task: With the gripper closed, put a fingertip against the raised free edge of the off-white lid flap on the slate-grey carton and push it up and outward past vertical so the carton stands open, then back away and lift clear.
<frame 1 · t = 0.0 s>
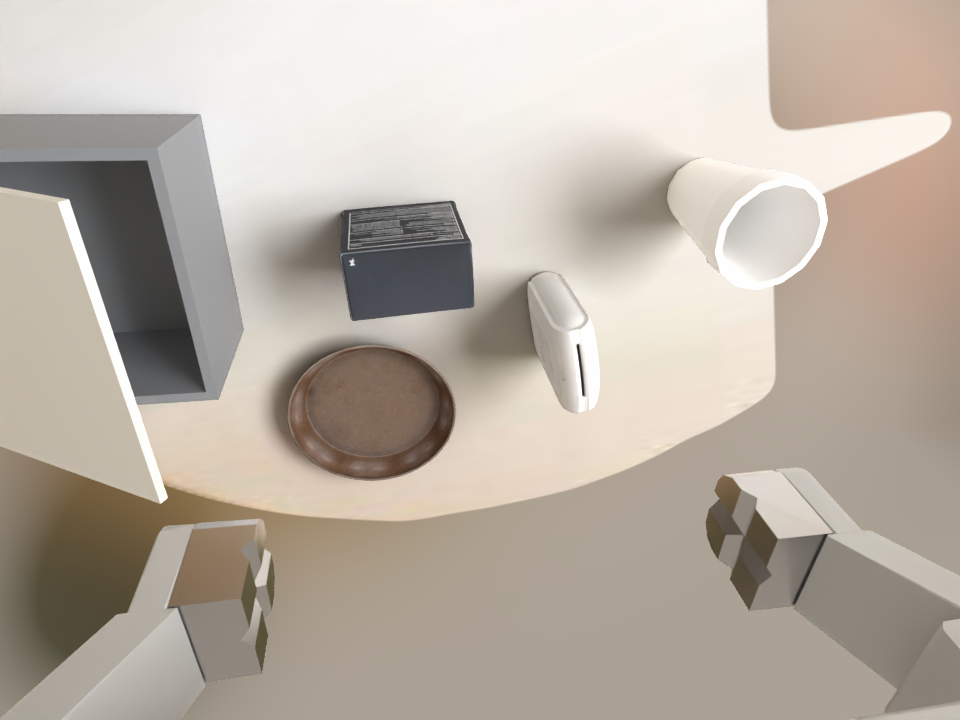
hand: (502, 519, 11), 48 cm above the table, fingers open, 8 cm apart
carton: (104, 235, 53), on the table
plant saucer: (373, 401, 67), on the table
foam cup: (696, 189, 60), on the table
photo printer: (547, 313, 65), on the table
small box: (402, 236, 58), on the table
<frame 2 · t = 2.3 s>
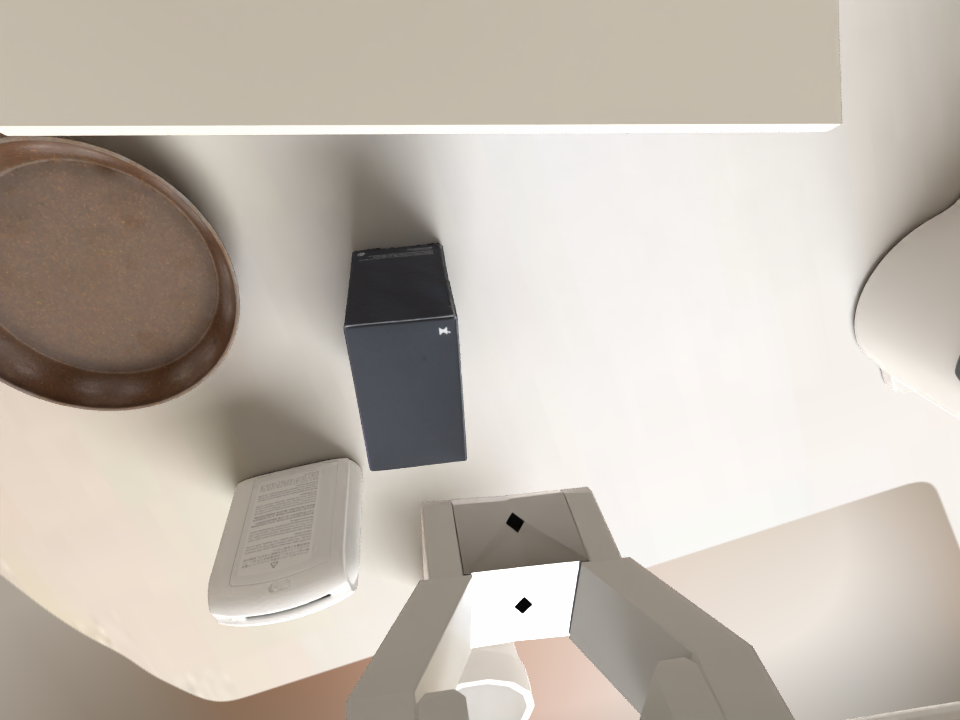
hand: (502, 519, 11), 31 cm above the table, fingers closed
plant saucer: (101, 270, 39), on the table
foam cup: (456, 577, 59), on the table
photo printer: (300, 481, 50), on the table
small box: (403, 313, 43), on the table
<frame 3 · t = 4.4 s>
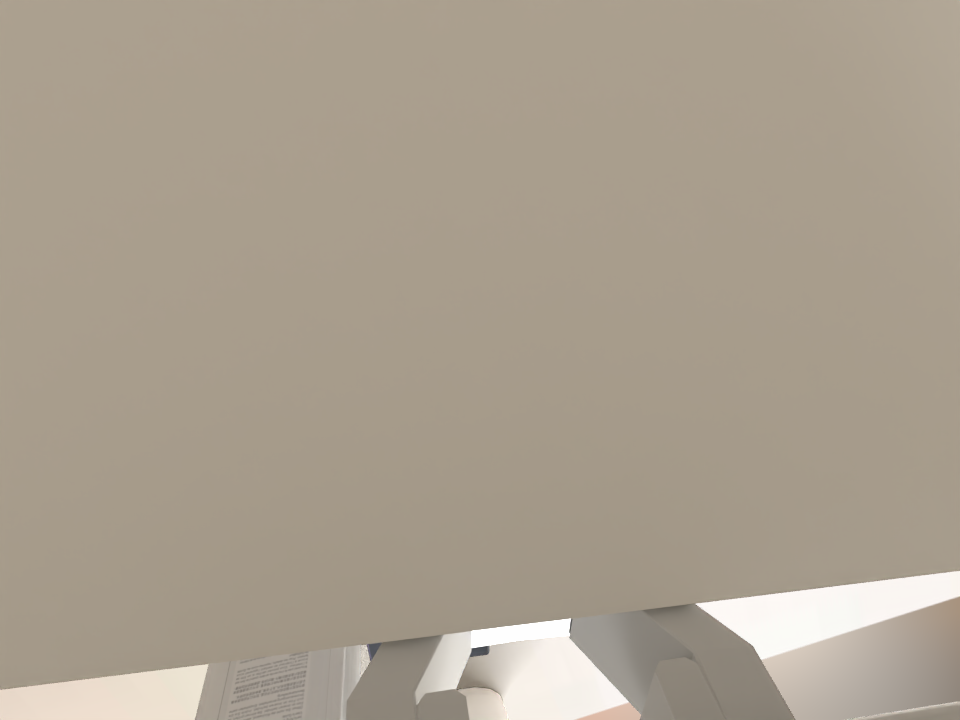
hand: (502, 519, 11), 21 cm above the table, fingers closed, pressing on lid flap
foam cup: (466, 706, 53), on the table
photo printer: (290, 623, 43), on the table
small box: (409, 451, 37), on the table
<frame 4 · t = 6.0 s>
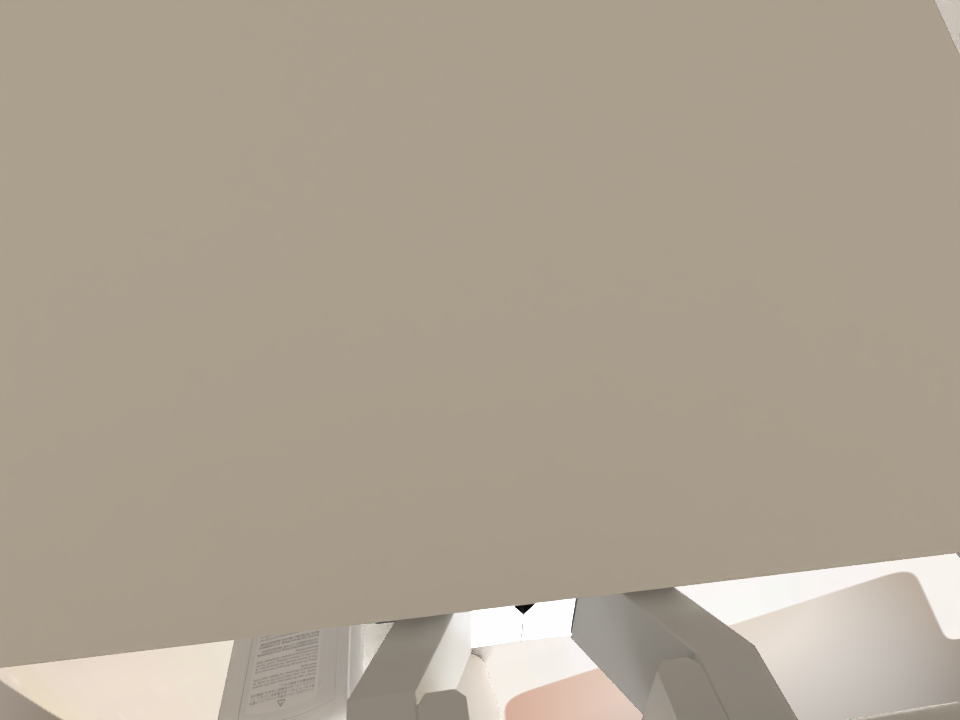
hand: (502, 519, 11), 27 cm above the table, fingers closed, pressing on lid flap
foam cup: (454, 670, 61), on the table
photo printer: (304, 594, 51), on the table
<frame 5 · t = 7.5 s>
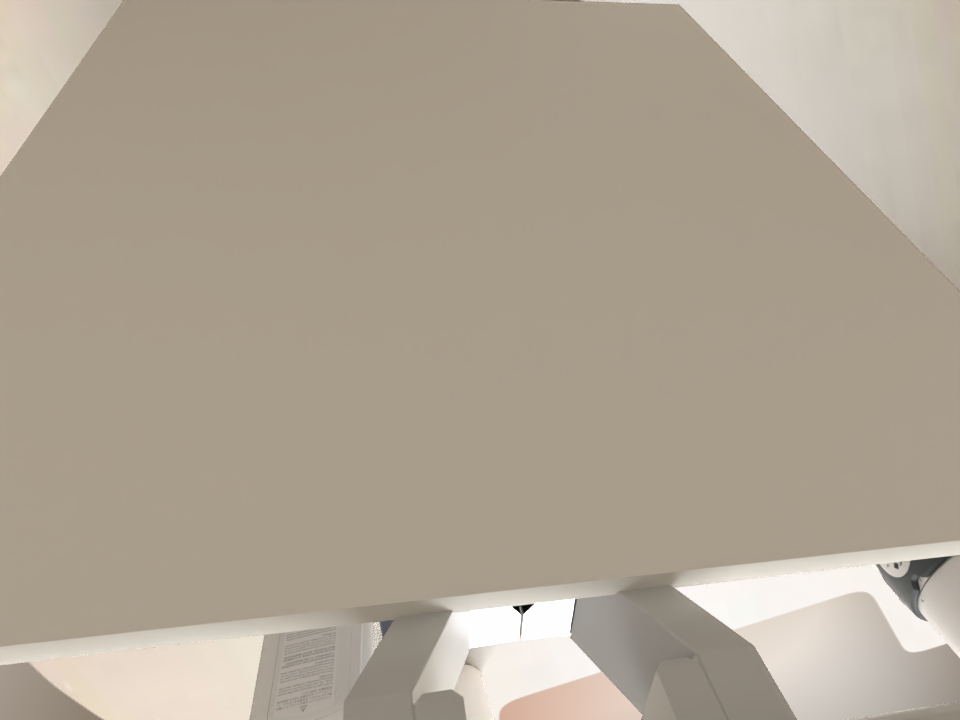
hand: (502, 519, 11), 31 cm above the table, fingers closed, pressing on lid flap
lid flap: (456, 161, 15), point 23 cm above the table, hinge at 73.5°, touching gripper
foam cup: (453, 679, 68), on the table
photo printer: (320, 613, 59), on the table
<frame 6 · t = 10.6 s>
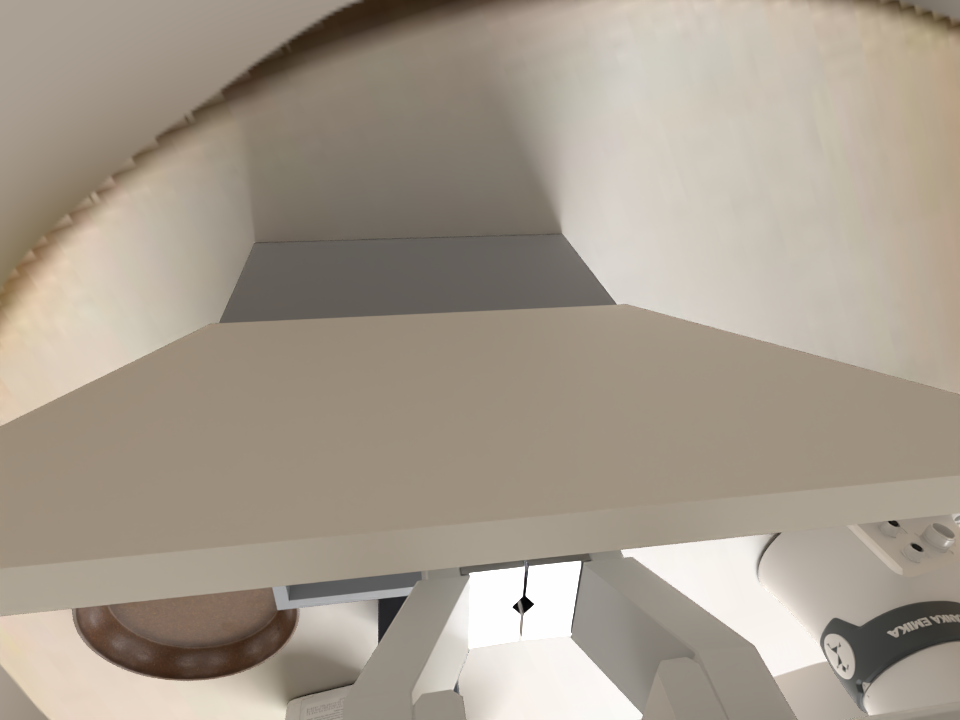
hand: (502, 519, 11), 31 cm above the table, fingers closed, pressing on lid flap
carton: (418, 367, 45), on the table
lid flap: (454, 366, 19), point 22 cm above the table, hinge at 110.2°, touching gripper
plant saucer: (199, 587, 54), on the table
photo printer: (335, 695, 65), on the table
small box: (415, 594, 59), on the table
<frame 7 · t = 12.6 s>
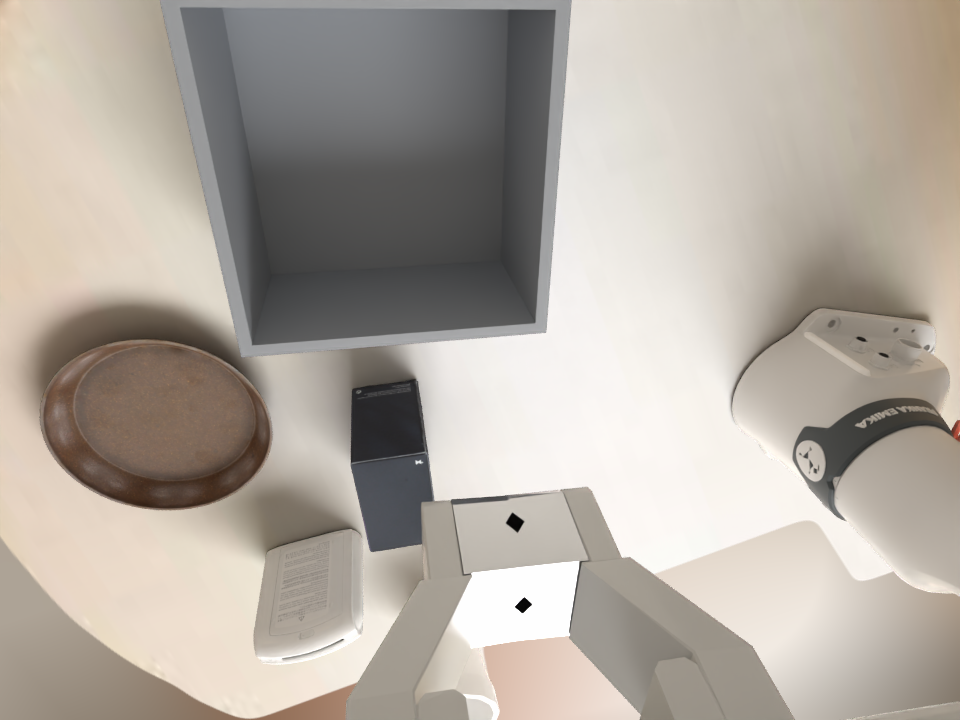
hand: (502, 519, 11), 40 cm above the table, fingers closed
carton: (380, 147, 45), on the table
plant saucer: (170, 410, 54), on the table
foam cup: (439, 611, 74), on the table
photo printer: (315, 546, 65), on the table
small box: (390, 426, 59), on the table
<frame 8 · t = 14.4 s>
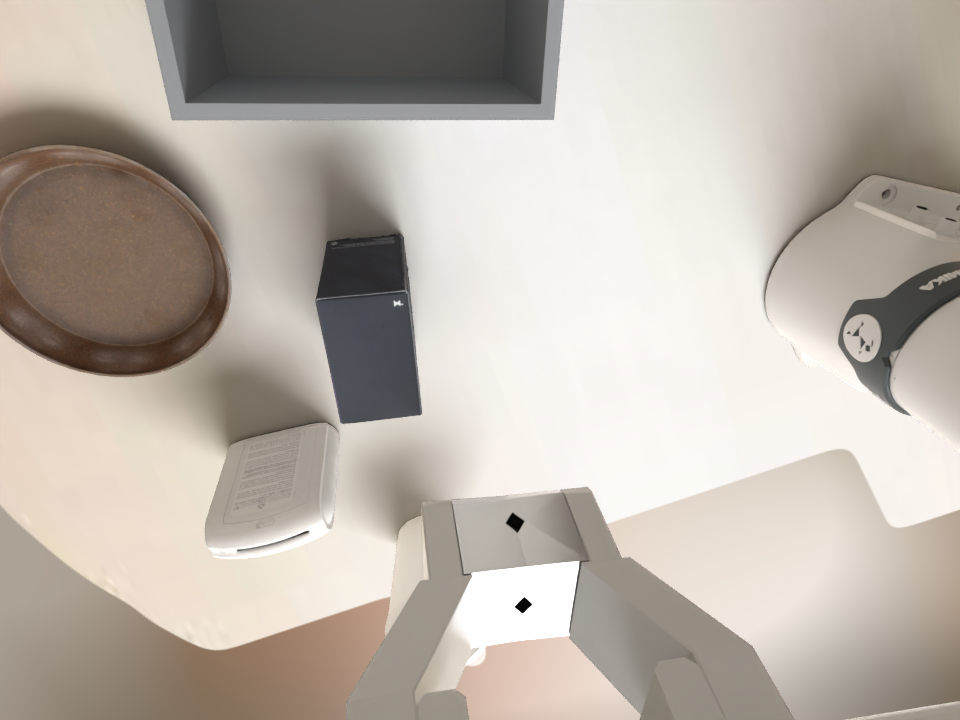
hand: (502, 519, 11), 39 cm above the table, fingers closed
plant saucer: (114, 256, 46), on the table
foam cup: (426, 534, 66), on the table
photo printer: (285, 443, 57), on the table
small box: (371, 295, 51), on the table
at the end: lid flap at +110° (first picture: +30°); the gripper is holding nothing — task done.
